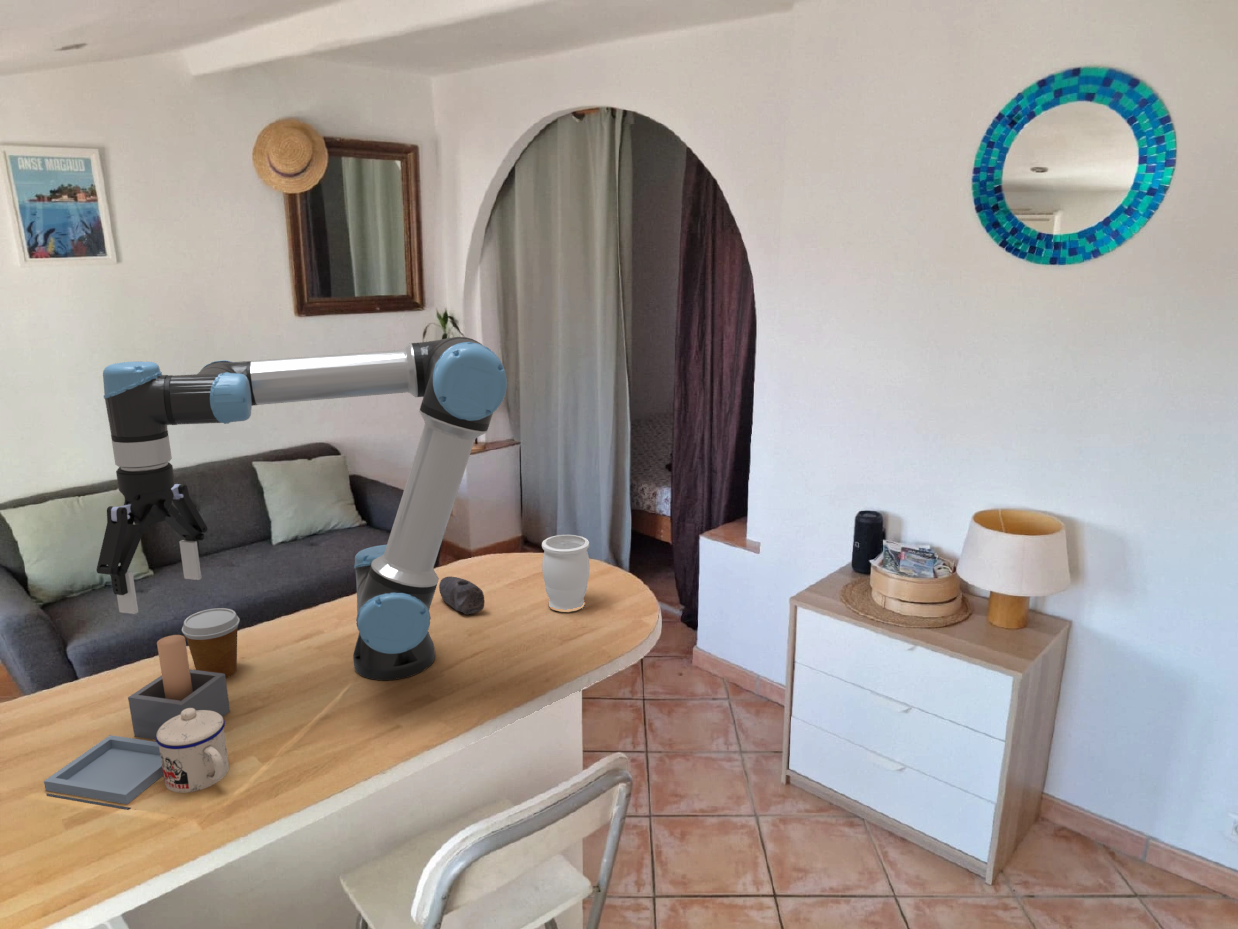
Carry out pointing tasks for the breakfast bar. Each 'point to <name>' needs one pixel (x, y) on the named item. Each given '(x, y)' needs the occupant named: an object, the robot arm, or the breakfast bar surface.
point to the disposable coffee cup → (213, 640)
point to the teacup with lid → (193, 750)
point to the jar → (565, 570)
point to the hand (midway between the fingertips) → (162, 594)
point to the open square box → (176, 702)
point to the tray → (109, 772)
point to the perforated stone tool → (462, 595)
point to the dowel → (174, 667)
